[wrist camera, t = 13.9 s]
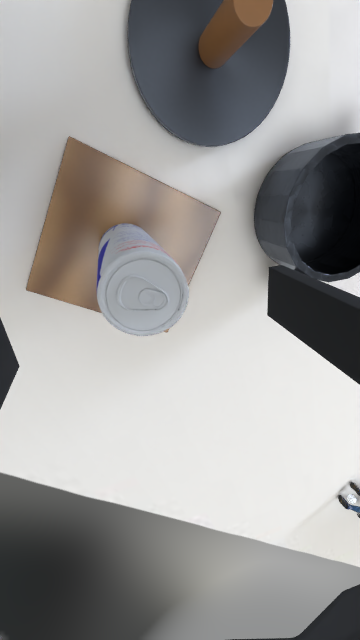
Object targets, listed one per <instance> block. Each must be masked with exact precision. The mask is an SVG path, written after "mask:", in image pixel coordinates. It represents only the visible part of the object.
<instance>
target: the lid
mask: <svg viewBox="0 0 360 640" xmlns="http://www.w3.org/2000/svg"><path fill="white" fill-rule="evenodd" d="M128 48H129V56H130V62H131V67H132V71H133V74H134V78H135V81H136V84H137V86H138V89H139V91H140V94H141V96H142V97H143V99H144V101H145V103H146V105H147V106H148V108H149V109H150V111H151V112H152V114H153V115H154V116H155V118H156V119H157V120H158V121H159V122H160V123H161V124H162V125H163V126H164V127H165V128H166V129H167V130H168V131H170V132H171V133H172V134H174V135H175V136H177V137H178V138H180V139H182V140H184V141H186V142H189V143H192V144H195V145H199V146H206V147H213V146H222V145H226V144H229V143H232V142H235V141H237V140H239V139H241V138H243V137H245V136H246V135H248V134H249V133H251V132H252V131H253V130H254V129H255V128H256V127H257V126H259V125H260V124H261V122H262V121H263V120H264V119H265V118H266V116H267V115H268V114H269V112H270V111H271V109H272V108H273V106H274V104H275V102H276V100H277V98H278V96H279V94H280V91H281V89H282V86H283V83H284V79H285V76H286V72H287V67H288V62H289V53H290V26H289V17H288V12H287V7H286V2H285V0H132V1H131V5H130V12H129V20H128Z"/></svg>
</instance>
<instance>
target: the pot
mask: <svg viewBox="0 0 360 640" xmlns="http://www.w3.org/2000/svg"><path fill="white" fill-rule="evenodd" d="M254 223H255V230H256V235H257V238H258V241H259V243H260V245H261V247H262V249H263V250H264V252H265V253H266V254H267V255H268V256H269V257H270V258H271V259H272V260H273V261H275V262H277V263H278V264H279V265H283V266H286V267H288V268H290V269H293V270H295V271H298V272H300V273H302V274H305V275H307V276H310V277H312V278H314V279H317V280H321V281H326V282H332V281H337V280H343V279H348V278H350V277H352V276H354V275H355V274H357V273H359V272H360V133H355V134H345V135H341V136H337V137H332V138H328V139H323V140H319V141H315V142H310V143H306V144H303V145H302V146H300V147H297V148H295V149H294V150H292V151H290V152H289V153H287V154H285V155H284V156H283V157H282V158H281V159H280V160H279V161H278V162H277V163H276V164H275V165H274V166H273V167H272V169H271V170H270V171H269V173H268V174H267V176H266V178H265V179H264V181H263V183H262V185H261V188H260V190H259V193H258V196H257V200H256V205H255V213H254Z"/></svg>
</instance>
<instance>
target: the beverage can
mask: <svg viewBox="0 0 360 640" xmlns="http://www.w3.org/2000/svg"><path fill="white" fill-rule="evenodd" d="M96 289H97V299H98V304H99V307H100V310H101V312H102V314H103V315H104V317H105V318H106V319H107V321H108V322H109V323H110V324H111V325H113V326H114V327H115V328H117V329H119V330H121V331H123V332H125V333H128V334H132V335H137V336H148V335H154V334H158V333H160V332H163V331H165V330H167V329H168V328H170V327H171V326H173V325H174V324H175V323H176V322H177V321H178V320H179V319H180V318H181V316H182V315H183V313H184V311H185V309H186V306H187V303H188V297H189V290H188V284H187V280H186V278H185V276H184V274H183V272H182V270H181V268H180V267H179V265H178V264H177V262H176V261H175V260H174V259H173V258H172V257H171V256H170V255H169V254H168V253H167V252H166V251H165V250H164V249H163V248H162V247H161V246H160V245H159V244H158V243H157V242H156V241H154V240H153V239H152V238H151V237H150V236H149V235H148V234H147V233H146V232H145V231H144V230H143V229H142V228H140V227H138V226H136V225H133V224H128V223H123V224H118V225H115V226H113V227H111V228H109V229H108V230H107V231H106V232H105V233H104V234H103V236H102V238H101V240H100V243H99V252H98V270H97V288H96Z"/></svg>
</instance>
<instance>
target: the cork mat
mask: <svg viewBox="0 0 360 640" xmlns="http://www.w3.org/2000/svg"><path fill="white" fill-rule="evenodd" d="M220 213H221V212H220V211H218V210H216V209H214V208H212V207H210V206H208V205H206V204H204V203H202V202H200V201H198V200H196V199H194V198H192V197H190V196H188V195H186V194H184V193H182V192H180V191H178V190H176V189H174V188H172V187H170V186H168V185H166V184H164V183H162V182H160V181H158V180H156V179H154V178H152V177H150V176H148V175H146V174H144V173H142V172H140V171H138V170H136V169H134V168H132V167H130V166H128V165H126V164H124V163H122V162H120V161H118V160H116V159H114V158H112V157H110V156H108V155H106V154H104V153H102V152H100V151H98V150H96V149H94V148H92V147H90V146H88V145H86V144H84V143H82V142H80V141H78V140H76V139H74V138H72V137H70V136H69V137H68V141H67V144H66V148H65V151H64V155H63V159H62V162H61V166H60V169H59V173H58V176H57V180H56V184H55V187H54V191H53V194H52V198H51V202H50V205H49V209H48V212H47V216H46V219H45V223H44V227H43V230H42V234H41V237H40V241H39V245H38V248H37V252H36V255H35V259H34V262H33V266H32V270H31V273H30V277H29V280H28V284H27V287H26V290H28V291H31V292H34V293H38V294H41V295H44V296H47V297H51V298H54V299H57V300H61V301H64V302H67V303H71V304H74V305H77V306H81V307H84V308H87V309H91V310H94V311H97V312H101V310H100V307H99V304H98V299H97V289H96V288H97V270H98V252H99V243H100V240H101V238H102V236H103V234H104V233H105V232H106V231H107V230H108V229H109V228H111V227H113V226H115V225H118V224H123V223H128V224H133V225H136V226H138V227H140V228H142V229H143V230H144V231H145V232H146V233H147V234H148V235H149V236H150V237H151V238H152V239H153V240H154V241H156V242H157V243H158V244H159V245H160V246H161V247H162V248H163V249H164V250H165V251H166V252H167V253H168V254H169V255H170V256H171V257H172V258H173V259H174V260H175V261H176V262H177V264H178V265H179V267H180V268H181V270H182V272H183V274H184V276H185V278H186V280H187V284H188V285H189V283H190V281H191V278H192V276H193V274H194V272H195V269H196V267H197V265H198V263H199V261H200V258H201V256H202V254H203V252H204V249H205V247H206V245H207V243H208V240H209V238H210V236H211V234H212V231H213V229H214V227H215V225H216V222H217V220H218V218H219V216H220ZM101 313H102V312H101ZM168 330H169V328H168V329H167V330H165V331H163V332H168Z"/></svg>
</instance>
